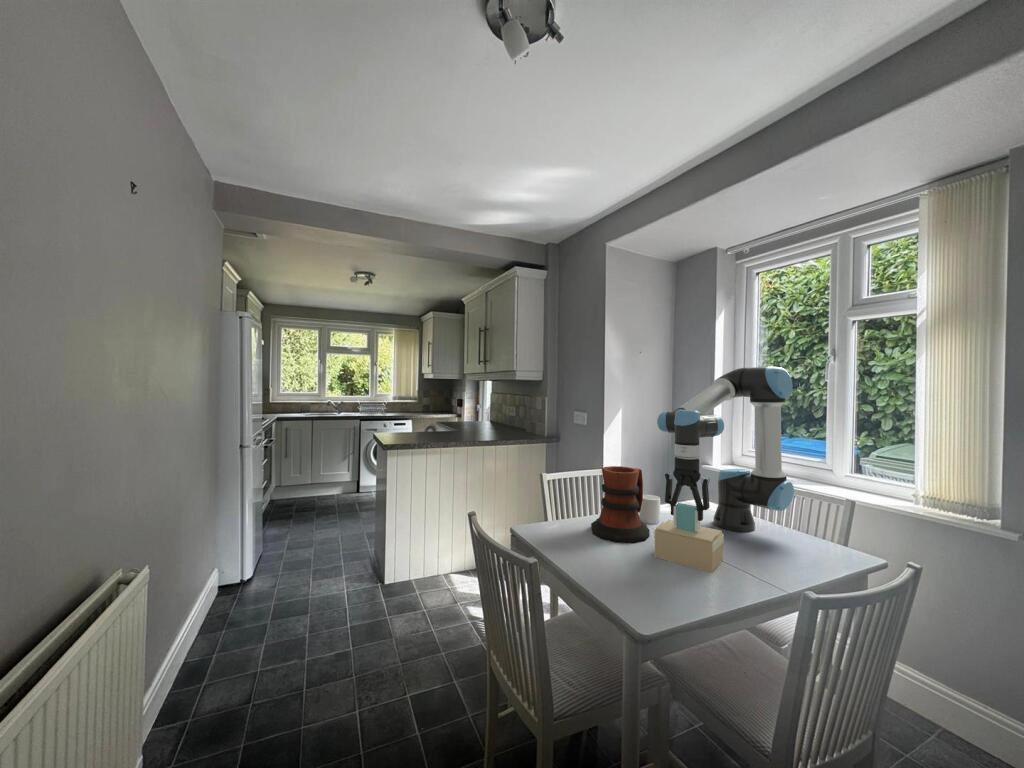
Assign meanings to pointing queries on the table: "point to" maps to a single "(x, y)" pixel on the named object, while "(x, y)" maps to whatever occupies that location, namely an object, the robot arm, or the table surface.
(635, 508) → the tankard
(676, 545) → the carton
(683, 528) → the flap
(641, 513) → the cup
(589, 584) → the table surface
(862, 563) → the table surface
